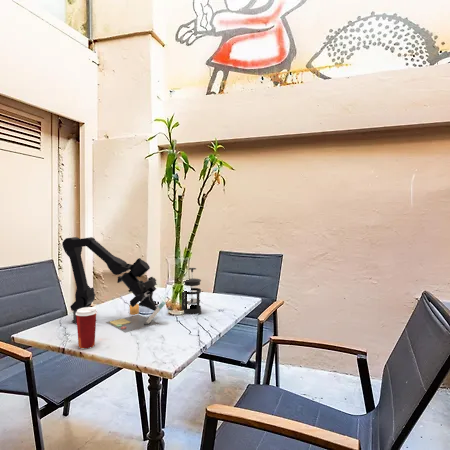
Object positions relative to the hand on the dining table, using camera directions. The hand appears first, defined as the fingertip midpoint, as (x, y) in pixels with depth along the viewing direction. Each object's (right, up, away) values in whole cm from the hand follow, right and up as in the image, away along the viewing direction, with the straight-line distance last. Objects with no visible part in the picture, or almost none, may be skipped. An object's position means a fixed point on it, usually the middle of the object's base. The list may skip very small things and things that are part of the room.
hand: (155, 309), depth 153 cm
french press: (+14, -7, +19) cm, 24 cm away
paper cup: (-22, -8, -23) cm, 33 cm away
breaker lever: (-4, -6, +1) cm, 7 cm away
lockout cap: (-14, -6, +16) cm, 22 cm away
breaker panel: (-11, -7, +1) cm, 13 cm away
